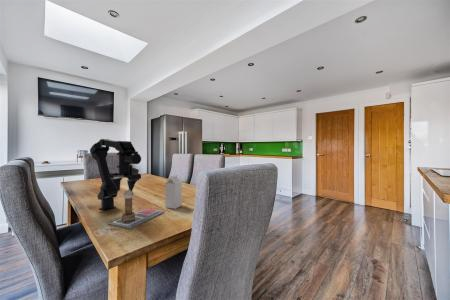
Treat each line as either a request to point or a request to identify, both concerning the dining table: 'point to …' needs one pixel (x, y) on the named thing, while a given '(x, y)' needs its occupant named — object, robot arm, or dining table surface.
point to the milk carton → (173, 193)
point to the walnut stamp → (128, 207)
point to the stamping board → (137, 218)
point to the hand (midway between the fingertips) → (124, 191)
